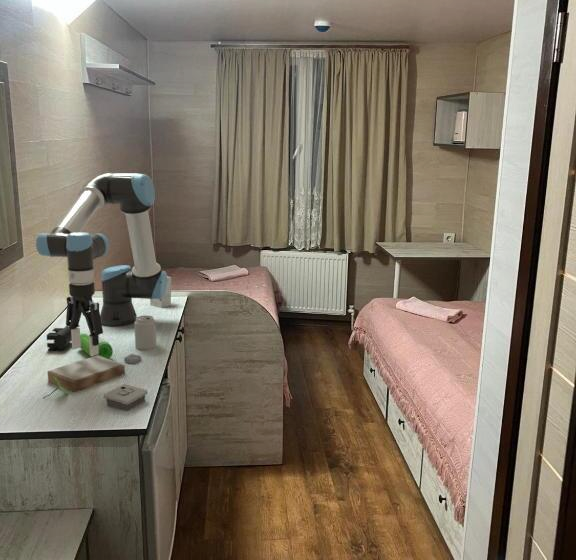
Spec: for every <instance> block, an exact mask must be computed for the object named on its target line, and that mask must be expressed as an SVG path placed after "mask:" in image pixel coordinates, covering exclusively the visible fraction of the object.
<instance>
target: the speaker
mask: <svg viewBox="0 0 576 560" xmlns="http://www.w3.org/2000/svg"><path fill="white" fill-rule="evenodd" d="M89 335H91V334H90V331H89V330H85V331H82V332H80V340H81V348H80V349H81V351H84V353H86V354H87V355H88V356H90V344H89ZM98 337H99V345H98V347H99V354H96V355H93V356H90V358H91V357H94V356H97V355H98V356H101V357H104V358H106V359H109V360H111V357H112V356H113V351H114V350H113V347H112V345H111V344H110V343H109V342H108V341H107V340H105V339H103V338H102V337H100V336H98Z"/></svg>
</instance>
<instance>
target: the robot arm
mask: <svg viewBox="0 0 576 560" xmlns="http://www.w3.org/2000/svg"><path fill="white" fill-rule="evenodd" d="M155 194H156V190H155V185H154V182H153V179H152V178H151V177H150V176H149V175H147V174H145V173H139V172H138V173H137V172H134V173H133V172H132V173H130V172H128V173H127V172H126V173H123V172H106V173H102V174H99V175H98V176H95V177H93V178H92V179H91V180H89V181H88V182H86V183H85V184H84V185H83V186H82V188H81V189H80V190H79V192H78V197H77V198H76V200H75V201H74V202H73V204H72V205H71V206H70V207H69V209H68V210H67V211H66V213H65V214H64V215H63V217H62V218H61V219H60V220H59V221H58V223H56V226H55V227H54V228H53V229H52V231H51V232H42V233H39V234H38V236H37V237H36V240H35V248H36V251H37V253H38V254H39V255H40V256H43V257H44V256H45V257H50V258H52V257H53V258H54V257H55V258H67V271H68V273H67V274H68V275H67V276H68V283H69V285H68V290H69V291H68V292H69V293H68V294H69V295H70V296H67V297H66V314H65V315H66V318H65V319H66V320H65V327H66V326H69V328H70V329H71V337H72V341H71V349H72V350H77V349H81V340H80V334H81V329H80V328H81V326H80V322H81V317H82V316H83V317H84V318H85V320H86V324H87V327H88V331H90V334H91V335H89V344H90V355H89V357H91V356H93V355H96V354H99V347H98V345H99V337H100V336H99V335H102V334H104V330H103V326H106V327H122V326H123V327H124V326H128V325H129V326H130V325H133V324H134V322H135V321H136V318H137V317H138V315H137V313H136V310H135V307H134V304H133V300H132V299H147V300H150V299H161V298H162V297H163V296H164V294H165V291H166V287H167V279H168V277H169V276H168V273H167V271H164V270H162V267H161V264H159V263H158V262H157V260H156V253H155V247H154V240H153V234H152V233H153V232H152V227H151V226H152V225H151V222H150V214H149V211H150V209H151V208H152V205H154V203H155V200H156V195H155ZM104 205H119V209H120V212H121V213H123V214H124V215H125V220H126V225H127V230H128V235H129V241H130V247H131V251H132V252H131V253H132V258H133V264H134V266H133V267H132V268H131V266H130V265H129V264H128V265H127V264H126V265H125V264H123V265H115V266H110V267H107V268H105V269H103V270H102V271H101V280H100V281H101V290H102V291H101V293H102V307H101V309H100V303H99V302H94V301H93V296H94V295H95V293H96V291H95V283H94V281H95V273H94V272H95V271H94V260H95V259H97V258H101V257H103V256H104V255H105V254H107V253H108V251H109V249H110V241H109V239H108V237H107V236H106V235H104V234H102V233H99V232H98V233H97V232H96V233H92V234H91V233H90V232H84V231H83V229H84V228H85V226H86V225H87V224H88V222H89V221H90V219H91V218H92V217H93V215H94V214H95V213H96V211H97V210H100V209H101V208H102V207H104ZM82 231H83V232H82ZM167 276H168V277H167ZM100 310H101V311H100ZM98 336H99V337H98Z"/></svg>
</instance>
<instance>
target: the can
mask: <svg viewBox="0 0 576 560" xmlns="http://www.w3.org/2000/svg"><path fill="white" fill-rule="evenodd" d="M133 324H134V344H135V349H137V350H140V351H142V350H143V351H148V350H151V349H155V348H156V347H157V325H156V320H155V319H154V316H151V315H139V316H137V318H136V321H135V322H134V323H133Z"/></svg>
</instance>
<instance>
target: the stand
mask: <svg viewBox="0 0 576 560" xmlns="http://www.w3.org/2000/svg"><path fill="white" fill-rule="evenodd" d="M125 370H126V369H125V364H123V363H120V362H117V361H114V360H112V359H106V358H104V357H101V356H98V355H97V356H94V357H91V356H90V357H88V358H85V359H81V360H77V361H75V362H72V363H69V364H66V365H65V364H64V365H63V366H60V367H55V368H53V369H50V370H47V382H48V383H50V384H53V385H55V386H57V387H59V386H58V384H57V383H56V381H55V379H54V377H56V378H57V379H58V381H59V382H60V384H61V387H63V388H65V389H66V390H67V391H68V392H71V393H73V394H75V393H79V392H81V391H83V390H86V389H88V388H92V387H94V386H97V385H98V384H101V383H104V382H107V381H109V380H111V379H115V378H117V377H120V376H122V374H123V375H125V373H126V371H125Z"/></svg>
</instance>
